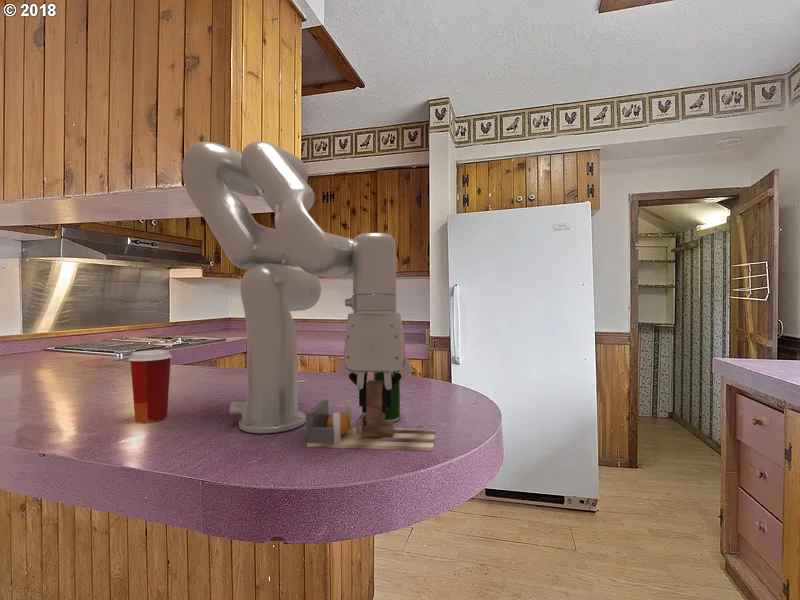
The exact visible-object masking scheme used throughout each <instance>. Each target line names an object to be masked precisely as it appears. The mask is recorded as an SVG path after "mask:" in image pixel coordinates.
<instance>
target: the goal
mask: <svg viewBox="0 0 800 600" xmlns="http://www.w3.org/2000/svg"><path fill="white" fill-rule="evenodd" d="M352 403H353V402H352V400H351V399H350V400H349V399H347V400H345V401H344V409H345V410H344V411H345V412H344V413H345V414H346V415H347V416H348V418H349V421H350V426H349V429H351V428H352V427H353V418H352V417H353V412H352V411H353V410H352V409H353V408H352V407H353V405H352ZM340 412H341V411H335V412H332V413H329V399H322V400H321V401H320V402H319V403H317V404H316V405H315V406H314V407H312V408H311V409H310V410H309V411H307V412H306V414H305V415H306V444H307V443H316V444H340V443H341V435H340ZM332 414H333V428H331V427H327V420H328V418H329V417H330V415H332Z"/></svg>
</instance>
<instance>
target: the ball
mask: <svg viewBox="0 0 800 600" xmlns="http://www.w3.org/2000/svg"><path fill="white" fill-rule="evenodd" d="M339 412H340V435H343V434H344V433H346V432H347V430H348V429H349V426H350V421H349V418H348V416H347V415H346V414H345V412H343V411H339ZM331 414H332V415H330V417H329V418H328V420H327V427H331V428H333V413H331Z"/></svg>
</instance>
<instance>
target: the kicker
mask: <svg viewBox="0 0 800 600" xmlns="http://www.w3.org/2000/svg"><path fill="white" fill-rule="evenodd" d="M384 385H385V381H376V380H374V379H373V380H371V379H370V380H367V383H366V413H362V412H361V414H360V415H359V417H358V418H357V419H356V422H355V424H356V425H355V427H356V437H361V436H362V435H363V436H368V437H393V434H394V428H395V422H385V413H383V412H382V390H383V389H384Z"/></svg>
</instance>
